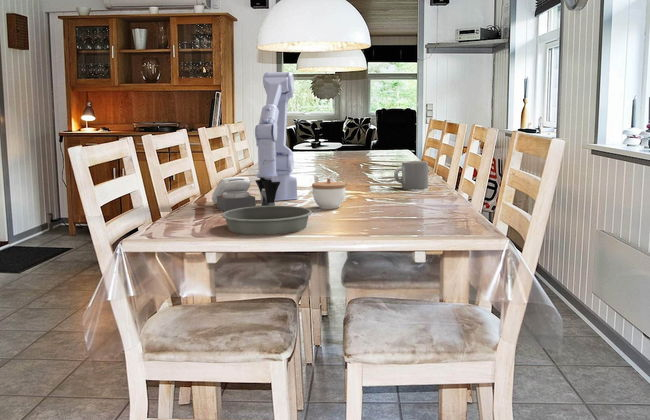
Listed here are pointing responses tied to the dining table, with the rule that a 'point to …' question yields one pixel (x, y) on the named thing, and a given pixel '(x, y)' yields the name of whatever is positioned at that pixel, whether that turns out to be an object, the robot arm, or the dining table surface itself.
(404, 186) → the coffee mug
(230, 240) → the dining table surface
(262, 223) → the cake pan
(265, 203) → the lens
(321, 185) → the lidded jar
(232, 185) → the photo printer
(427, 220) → the dining table surface
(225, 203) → the octagonal frame panel
